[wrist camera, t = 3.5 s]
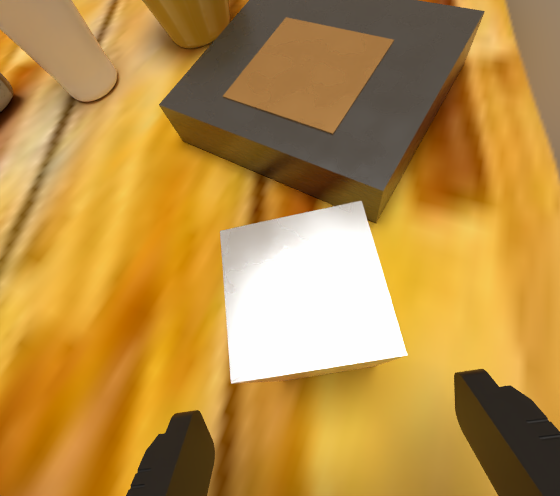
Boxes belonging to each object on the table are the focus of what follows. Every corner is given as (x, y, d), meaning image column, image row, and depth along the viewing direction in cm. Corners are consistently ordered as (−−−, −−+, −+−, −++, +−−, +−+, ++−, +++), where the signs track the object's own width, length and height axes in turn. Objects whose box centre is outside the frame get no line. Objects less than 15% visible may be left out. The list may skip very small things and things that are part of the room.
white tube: (104, 114, 31) (-85, -97, 17) (55, 105, 33) (-149, -91, 19) (138, 66, 33) (-7, -158, 19) (90, 59, 35) (-72, -147, 21)
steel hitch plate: (182, 141, 27) (158, 103, 24) (277, 23, 31) (269, -25, 28) (375, 223, 21) (383, 190, 18) (463, 64, 25) (485, 9, 21)
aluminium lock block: (375, 366, 18) (406, 355, 9) (282, 381, 19) (230, 383, 10) (351, 272, 20) (359, 193, 12) (269, 287, 21) (219, 224, 12)
